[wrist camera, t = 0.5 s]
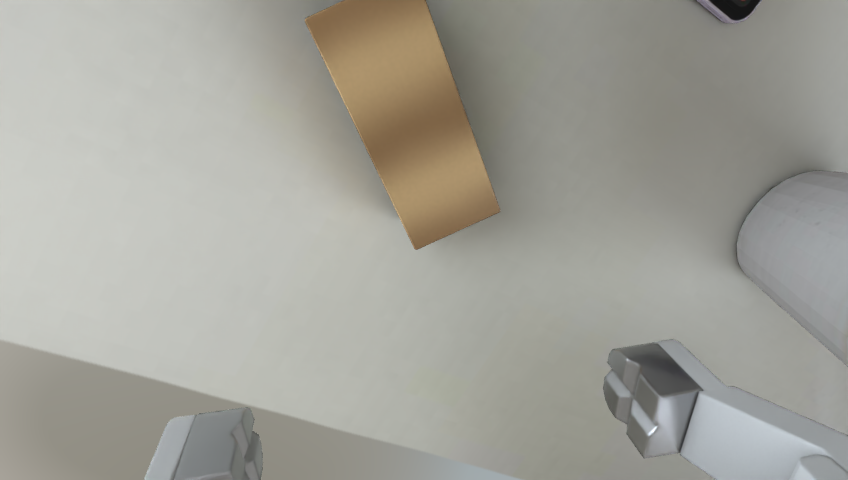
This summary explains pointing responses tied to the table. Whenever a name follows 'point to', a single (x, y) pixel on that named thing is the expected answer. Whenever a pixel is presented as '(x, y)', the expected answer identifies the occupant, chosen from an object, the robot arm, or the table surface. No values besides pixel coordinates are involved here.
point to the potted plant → (803, 253)
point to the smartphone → (731, 9)
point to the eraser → (406, 112)
